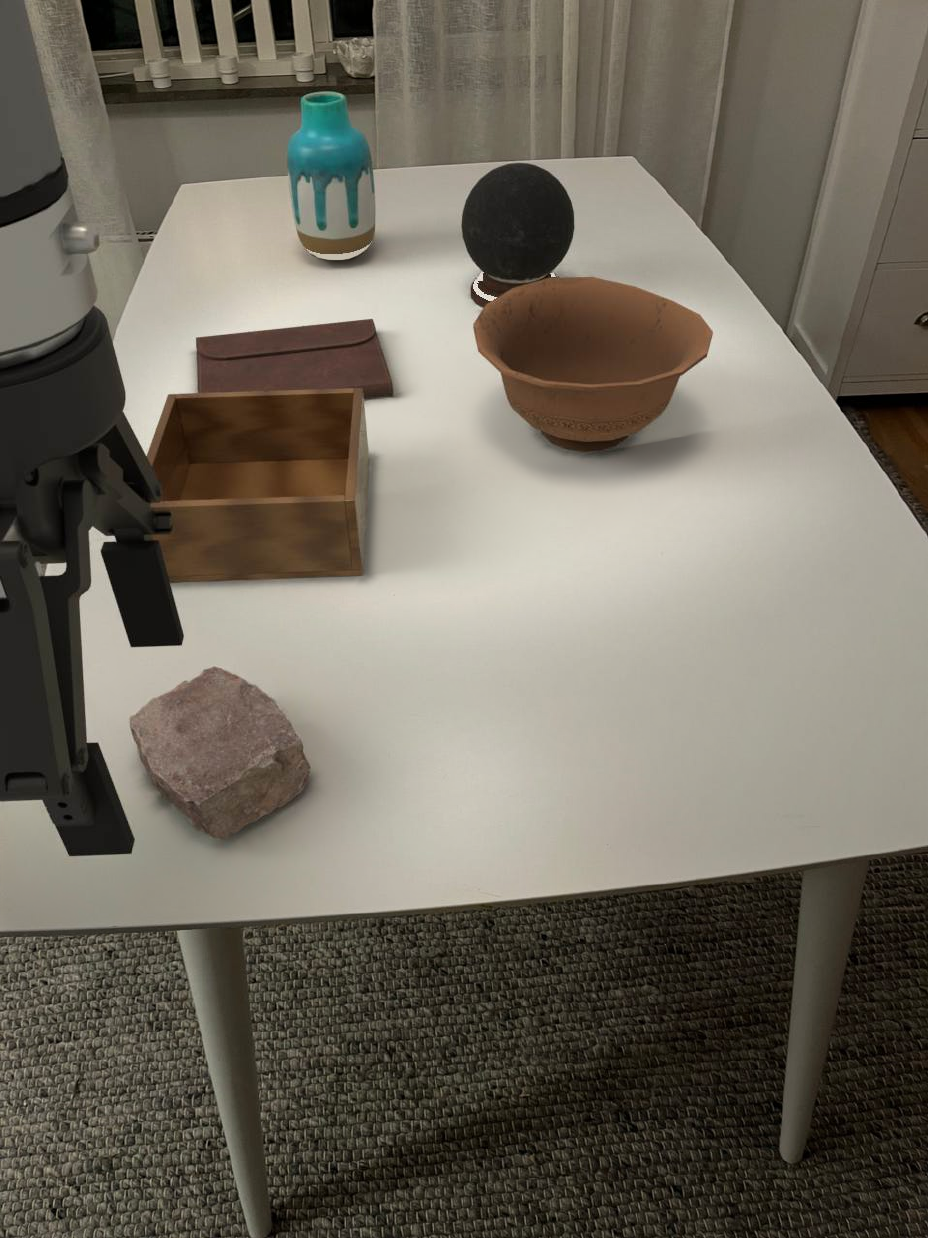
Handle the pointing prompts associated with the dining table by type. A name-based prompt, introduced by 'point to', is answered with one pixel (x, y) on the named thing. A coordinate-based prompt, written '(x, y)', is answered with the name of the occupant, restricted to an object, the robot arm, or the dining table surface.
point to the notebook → (295, 360)
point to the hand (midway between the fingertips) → (132, 735)
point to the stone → (220, 751)
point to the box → (262, 484)
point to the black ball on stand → (516, 227)
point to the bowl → (589, 356)
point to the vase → (330, 178)
